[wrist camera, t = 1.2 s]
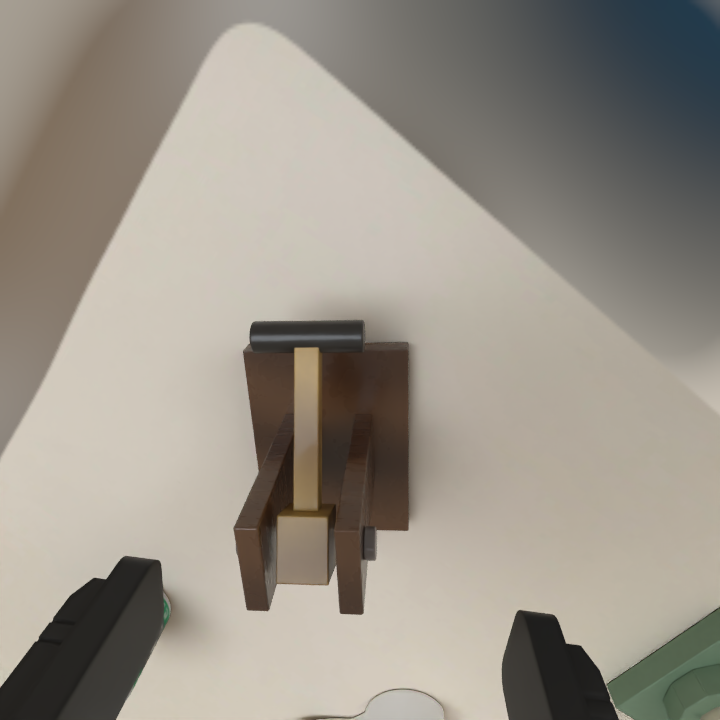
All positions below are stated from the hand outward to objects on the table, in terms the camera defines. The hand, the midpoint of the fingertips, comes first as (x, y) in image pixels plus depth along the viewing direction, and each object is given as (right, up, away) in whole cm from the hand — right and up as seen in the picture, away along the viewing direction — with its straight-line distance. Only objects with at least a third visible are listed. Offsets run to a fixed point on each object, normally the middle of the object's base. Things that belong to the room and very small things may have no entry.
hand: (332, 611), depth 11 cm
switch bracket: (-1, +1, +19) cm, 19 cm away
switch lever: (-2, +2, +12) cm, 12 cm away
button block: (+25, -17, +24) cm, 38 cm away
